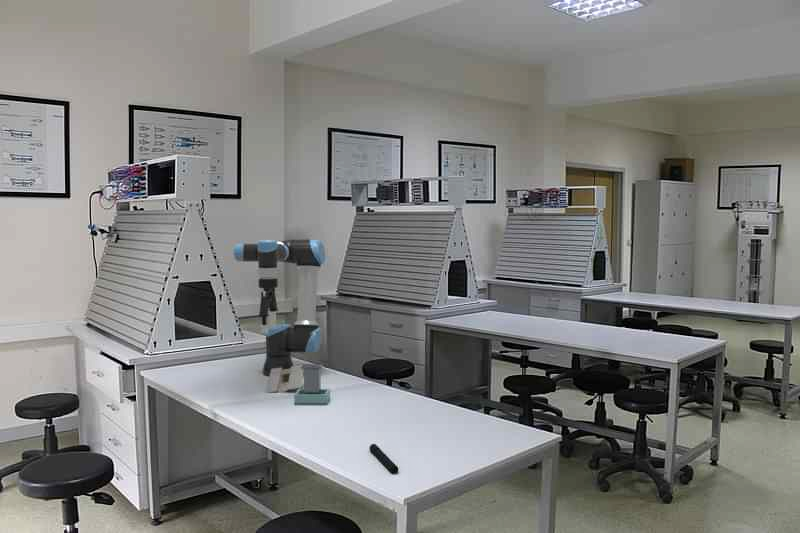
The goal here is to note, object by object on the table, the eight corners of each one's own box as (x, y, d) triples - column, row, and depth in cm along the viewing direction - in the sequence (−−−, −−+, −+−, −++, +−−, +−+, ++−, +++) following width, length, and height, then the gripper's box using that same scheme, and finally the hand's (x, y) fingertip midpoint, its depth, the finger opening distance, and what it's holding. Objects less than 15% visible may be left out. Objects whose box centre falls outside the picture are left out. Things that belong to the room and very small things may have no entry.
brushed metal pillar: (303, 398, 249) (303, 364, 248) (323, 398, 249) (322, 364, 248) (301, 401, 245) (301, 366, 244) (321, 401, 244) (321, 366, 244)
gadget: (399, 465, 176) (376, 442, 194) (391, 467, 175) (368, 443, 193) (399, 474, 176) (376, 450, 194) (391, 475, 175) (368, 451, 193)
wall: (307, 398, 265) (309, 370, 276) (301, 387, 259) (303, 358, 269) (270, 403, 266) (274, 375, 277) (264, 392, 260) (267, 364, 271)
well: (298, 398, 251) (298, 388, 251) (330, 398, 251) (330, 388, 251) (294, 404, 242) (294, 394, 242) (327, 404, 242) (327, 395, 242)
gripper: (266, 275, 260) (267, 324, 261) (250, 280, 235) (251, 335, 236) (283, 275, 259) (284, 324, 261) (270, 280, 235) (271, 335, 236)
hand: (268, 330), depth 249 cm, fingers open, 13 cm apart
